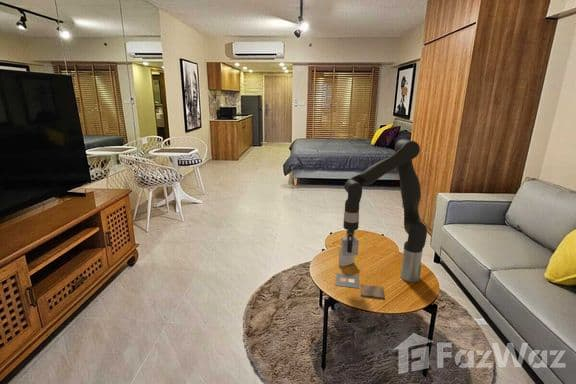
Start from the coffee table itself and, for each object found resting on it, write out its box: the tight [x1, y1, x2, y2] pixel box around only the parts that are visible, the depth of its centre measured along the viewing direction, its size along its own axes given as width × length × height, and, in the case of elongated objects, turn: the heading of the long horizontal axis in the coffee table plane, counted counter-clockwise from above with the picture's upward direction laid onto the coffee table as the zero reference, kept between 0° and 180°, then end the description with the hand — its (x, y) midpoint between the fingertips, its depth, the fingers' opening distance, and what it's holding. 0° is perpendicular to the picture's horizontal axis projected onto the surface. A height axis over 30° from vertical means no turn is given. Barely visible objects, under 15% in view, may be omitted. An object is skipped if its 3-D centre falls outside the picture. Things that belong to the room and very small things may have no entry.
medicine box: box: [340, 236, 360, 256], centre depth 160 cm, size 8×4×9 cm, turn 92°
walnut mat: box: [360, 284, 385, 300], centre depth 156 cm, size 11×9×1 cm
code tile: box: [334, 272, 360, 289], centre depth 166 cm, size 12×12×1 cm
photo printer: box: [338, 247, 356, 268], centre depth 181 cm, size 10×4×12 cm, turn 123°
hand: (349, 249), depth 161 cm, fingers closed on medicine box, 5 cm apart
